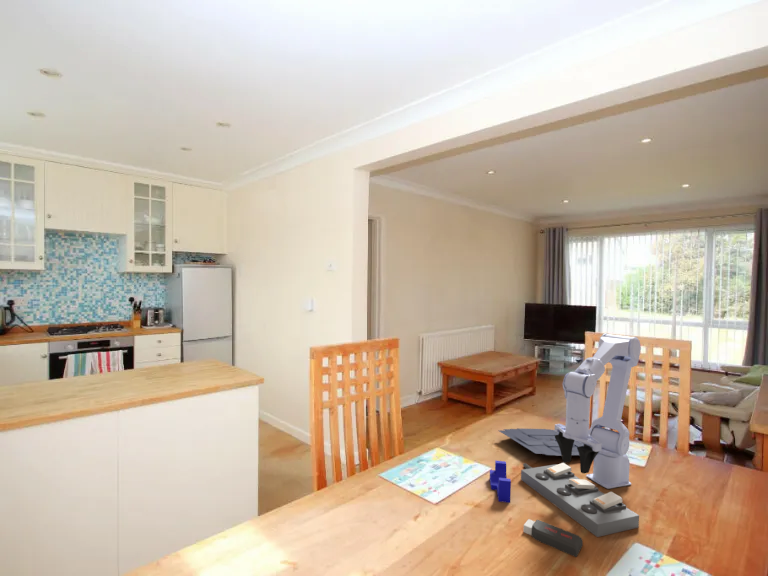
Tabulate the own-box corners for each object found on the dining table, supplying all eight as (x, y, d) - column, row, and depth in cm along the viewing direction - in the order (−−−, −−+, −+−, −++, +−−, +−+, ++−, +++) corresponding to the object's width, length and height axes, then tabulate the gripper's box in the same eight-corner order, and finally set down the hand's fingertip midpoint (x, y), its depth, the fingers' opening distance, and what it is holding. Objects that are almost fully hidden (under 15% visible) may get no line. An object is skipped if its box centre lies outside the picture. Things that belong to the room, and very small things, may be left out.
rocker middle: (585, 483, 114) (585, 479, 114) (594, 488, 111) (595, 484, 111) (568, 482, 112) (569, 478, 112) (577, 488, 109) (578, 484, 109)
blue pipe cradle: (489, 479, 122) (490, 460, 122) (505, 481, 121) (505, 461, 121) (492, 501, 110) (493, 479, 110) (510, 503, 110) (510, 481, 109)
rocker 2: (611, 495, 106) (611, 491, 106) (622, 501, 103) (622, 497, 103) (593, 502, 104) (593, 498, 104) (604, 509, 101) (603, 505, 101)
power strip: (540, 463, 133) (540, 452, 133) (638, 527, 100) (639, 512, 100) (506, 468, 129) (506, 457, 129) (597, 537, 96) (597, 521, 96)
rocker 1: (563, 465, 122) (563, 462, 122) (571, 470, 119) (571, 467, 119) (547, 471, 120) (546, 468, 120) (555, 476, 117) (554, 473, 117)
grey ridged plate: (493, 435, 153) (494, 426, 153) (556, 436, 163) (557, 427, 163) (538, 464, 130) (540, 453, 130) (608, 463, 140) (610, 452, 140)
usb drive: (576, 558, 89) (576, 546, 89) (521, 535, 96) (522, 523, 96) (582, 546, 93) (583, 534, 93) (529, 525, 100) (530, 514, 100)
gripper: (546, 410, 116) (544, 457, 116) (587, 428, 102) (584, 481, 103) (566, 408, 118) (564, 454, 119) (608, 425, 105) (606, 478, 105)
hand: (575, 466), depth 111 cm, fingers open, 6 cm apart
